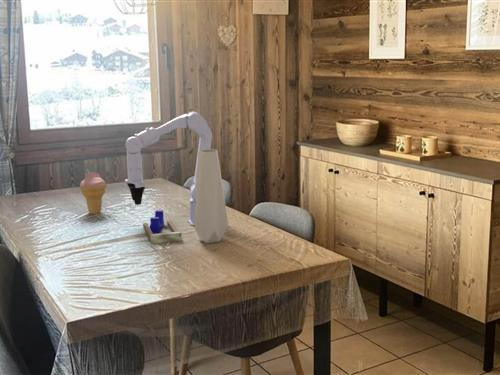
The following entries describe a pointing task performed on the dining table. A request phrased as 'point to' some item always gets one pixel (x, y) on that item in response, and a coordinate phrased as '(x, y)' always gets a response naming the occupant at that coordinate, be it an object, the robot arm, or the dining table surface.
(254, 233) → the dining table surface
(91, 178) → the ice cream cone
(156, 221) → the cable clip
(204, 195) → the vase
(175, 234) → the guide
